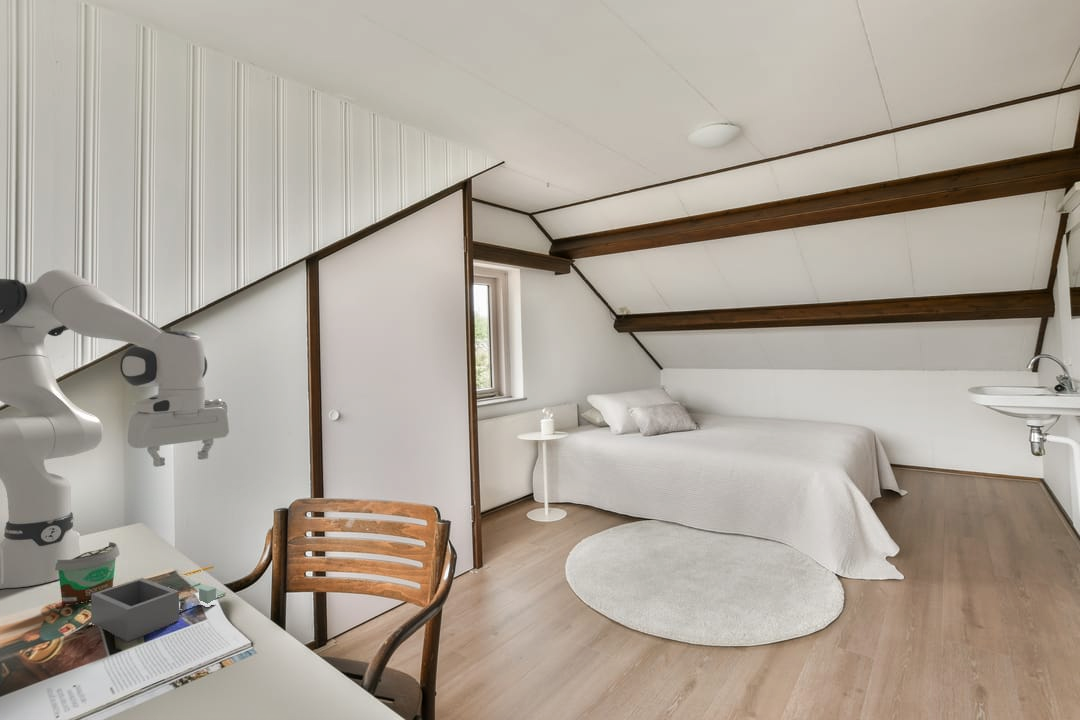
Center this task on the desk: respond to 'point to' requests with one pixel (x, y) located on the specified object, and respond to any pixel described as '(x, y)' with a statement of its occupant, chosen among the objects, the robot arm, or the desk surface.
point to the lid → (206, 592)
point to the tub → (134, 608)
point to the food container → (87, 574)
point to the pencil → (198, 570)
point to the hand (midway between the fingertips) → (181, 462)
